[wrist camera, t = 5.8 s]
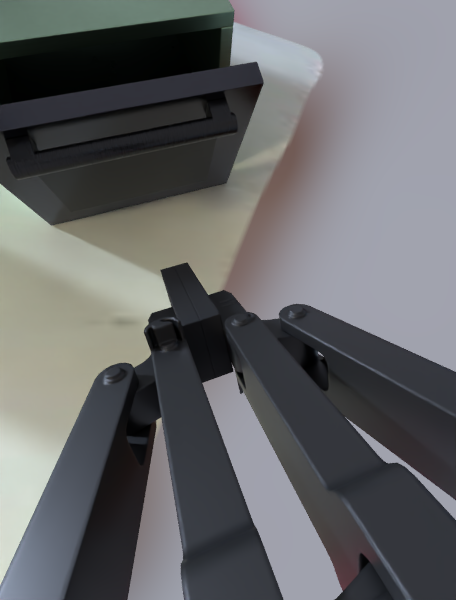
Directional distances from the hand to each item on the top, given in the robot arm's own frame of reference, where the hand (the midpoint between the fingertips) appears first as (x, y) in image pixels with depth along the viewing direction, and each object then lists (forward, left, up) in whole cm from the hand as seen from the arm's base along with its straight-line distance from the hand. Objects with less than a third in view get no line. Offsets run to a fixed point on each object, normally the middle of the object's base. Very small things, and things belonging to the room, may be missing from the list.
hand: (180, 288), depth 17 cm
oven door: (0, +16, -14) cm, 22 cm away
